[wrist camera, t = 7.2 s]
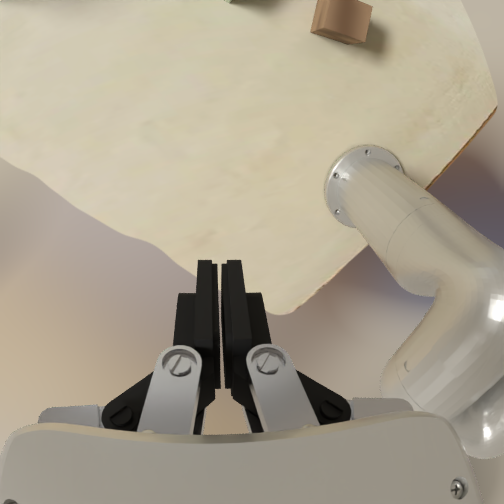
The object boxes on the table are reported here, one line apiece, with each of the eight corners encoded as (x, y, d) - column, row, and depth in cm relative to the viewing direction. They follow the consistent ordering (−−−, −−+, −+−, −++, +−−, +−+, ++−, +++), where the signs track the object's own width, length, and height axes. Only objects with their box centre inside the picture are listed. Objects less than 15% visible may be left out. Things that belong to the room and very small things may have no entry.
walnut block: (354, 12, 27) (372, 6, 23) (347, 44, 29) (364, 42, 25) (317, -1, 26) (331, -10, 22) (310, 32, 29) (323, 27, 24)
